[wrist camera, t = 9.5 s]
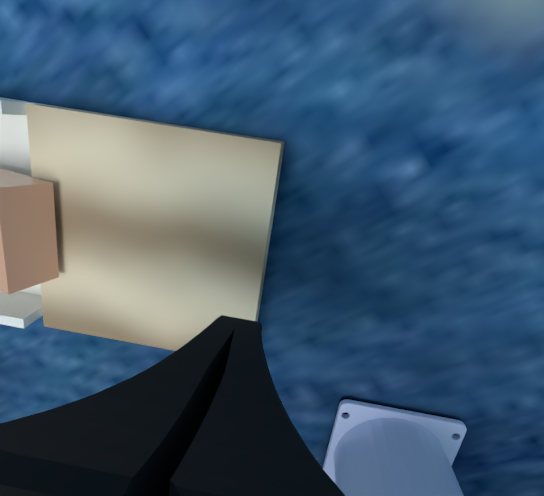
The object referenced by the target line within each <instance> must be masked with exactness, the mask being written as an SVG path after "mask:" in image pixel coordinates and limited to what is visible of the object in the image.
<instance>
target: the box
mask: <svg viewBox="0 0 544 496" xmlns="http://www.w3.org/2000/svg"><path fill="white" fill-rule="evenodd" d="M26 104H37V105H47V104H41V103H34V102H28V101H22V100H15V99H9V98H2V97H0V168H2V169H6V170H9V171H13V172H16V173H20V174H23V175H27V176H30V177H32V173H31V161H30V148H29V136H28V124H27V111H26ZM48 106H54V105H48ZM41 316H43V308H42V296H41V284H38V285H35V286H32V287H29V288H26V289H23V290H20V291H17V292H15V293H12V294H6V293H4V292H2V291H0V324H3V325H8V326H14V327H19V328H25V327H27V326H28V325H30V324H31V323H33V322H34V321H35V320H37V319H38V318H40V317H41Z"/></svg>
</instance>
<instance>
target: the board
mask: <svg viewBox="0 0 544 496" xmlns="http://www.w3.org/2000/svg"><path fill="white" fill-rule="evenodd" d="M26 111H27V124H28V136H29V148H30V161H31V173H32V177H34V178H38V179H41V180H45V181H48V182H52V183H53V190H54V206H55V222H56V238H57V254H58V270H59V277H58V278H55V279H52V280H49V281H47V282H44V283H41V296H42V308H43V321H44V326H45V327H51V328H56V329H61V330H67V331H72V332H77V333H83V334H88V335H94V336H99V337H104V338H110V339H115V340H120V341H126V342H131V343H137V344H142V345H147V346H153V347H158V348H163V349H169V350H174V351H177V350H178V349H179V348H181V347H182V346H184V345H185V344H186V343H188V342H189V341H190V340H191V339H193V338H194V337H195V336H197V335H198V334H199V333H200V332H202V331H203V330H204V329H205V328H206V327H208V326H209V325H210V324H211V323H212V322H213V321H215V320H216V319H217V318H218V317H220V316H221V315H224V316H229V317H235V318H240V319H246V320H251V321H257V322H258V317H259V310H260V303H261V297H262V290H263V284H264V277H265V270H266V264H267V257H268V250H269V244H270V237H271V230H272V224H273V217H274V210H275V204H276V197H277V190H278V184H279V177H280V170H281V164H282V157H283V151H284V144H285V141H279V140H272V139H266V138H259V137H253V136H246V135H240V134H234V133H227V132H221V131H214V130H208V129H201V128H195V127H189V126H182V125H176V124H169V123H163V122H157V121H150V120H144V119H137V118H131V117H124V116H118V115H112V114H105V113H99V112H92V111H86V110H79V109H73V108H67V107H59V106H48V105H37V104H26Z"/></svg>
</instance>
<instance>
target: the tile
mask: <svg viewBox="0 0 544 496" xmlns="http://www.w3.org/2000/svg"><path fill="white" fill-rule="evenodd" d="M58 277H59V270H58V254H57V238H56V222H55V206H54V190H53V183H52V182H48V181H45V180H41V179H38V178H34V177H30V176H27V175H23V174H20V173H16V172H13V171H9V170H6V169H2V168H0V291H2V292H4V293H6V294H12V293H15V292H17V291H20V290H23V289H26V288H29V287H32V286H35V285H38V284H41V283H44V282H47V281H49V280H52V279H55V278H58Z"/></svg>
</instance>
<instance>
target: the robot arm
mask: <svg viewBox="0 0 544 496" xmlns="http://www.w3.org/2000/svg"><path fill="white" fill-rule="evenodd" d="M261 329H262V325H261V324H260V322H257V321H251V320H246V319H240V318H235V317H229V316H224V315H221V316H220V317H218V318H217V319H216V320H215V321H213V322H212V323H211V324H210V325H209V326H208V327H206V328H205V329H204V330H203V331H202V332H200V333H199V334H198V335H197V336H195V337H194V338H193V339H191V340H190V341H189V342H188V343H186V344H185V345H184V346H182V347H181V348H179V349H178V350H177V351H175V352H174V353H172V354H171V355H169V356H168V357H166V358H165V359H163V360H162V361H160V362H159V363H157V364H155V365H154V366H152V367H150V368H149V369H147V370H145V371H143V372H141V373H139V374H137V375H136V376H134V377H132V378H130V379H127V380H125V381H123V382H121V383H119V384H116V385H114V386H112V387H110V388H107V389H105V390H103V391H101V392H98V393H96V394H93V395H91V396H88V397H86V398H83V399H80V400H78V401H75V402H72V403H69V404H66V405H63V406H60V407H57V408H54V409H51V410H48V411H45V412H41V413H37V414H34V415H30V416H27V417H23V418H20V419H16V420H12V421H9V422H5V423H1V424H0V496H464V495H463V493H462V490H461V488H460V486H459V483H458V481H457V479H456V476H455V474H454V471H453V469H452V467H451V466H452V464H453V462H454V459H455V457H456V455H457V452H458V450H459V448H460V445H461V443H462V441H463V438H464V436H465V434H466V430H467V429H466V426H465V424H464V423H463V422H462V421H460V420H455V419H450V418H445V417H439V416H434V415H429V414H423V413H418V412H413V411H407V410H402V409H397V408H391V407H386V406H381V405H375V404H370V403H365V402H359V401H354V400H349V399H345V400H342V401H341V402H340V403H339V406H338V410H337V414H336V418H335V422H334V425H333V429H332V433H331V437H330V441H329V444H328V448H327V452H326V456H325V460H324V464H323V467H321V466H320V465H319V463H318V462H317V460H316V459H315V458H314V456H313V455H312V453H311V452H310V451H309V449H308V448H307V446H306V444H305V443H304V441H303V440H302V438H301V436H300V435H299V433H298V432H297V430H296V428H295V427H294V425H293V424H292V422H291V420H290V418H289V416H288V414H287V412H286V410H285V409H284V407H283V404H282V402H281V400H280V398H279V396H278V393H277V391H276V389H275V386H274V383H273V381H272V378H271V375H270V372H269V369H268V366H267V362H266V358H265V354H264V350H263V344H262V336H261ZM345 412H347V413H348V414H342V413H345ZM453 434H455V435H453Z"/></svg>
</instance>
